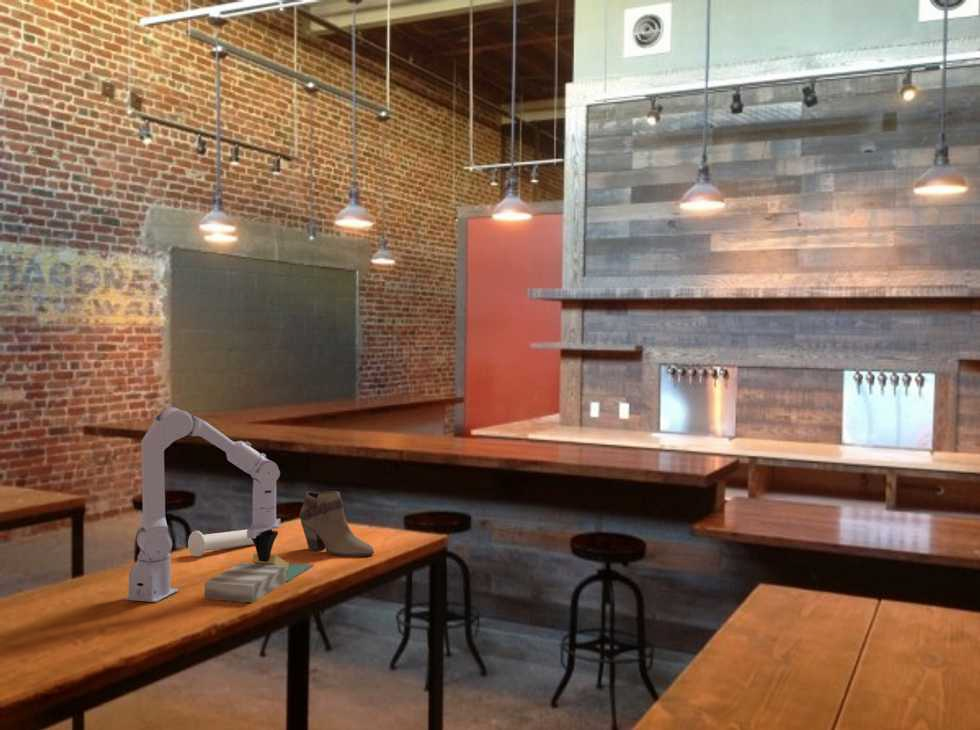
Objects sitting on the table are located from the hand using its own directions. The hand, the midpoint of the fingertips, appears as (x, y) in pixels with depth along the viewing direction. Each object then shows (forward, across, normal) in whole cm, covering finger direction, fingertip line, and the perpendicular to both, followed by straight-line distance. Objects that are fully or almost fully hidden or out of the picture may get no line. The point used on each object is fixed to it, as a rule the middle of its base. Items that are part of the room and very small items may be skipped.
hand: (263, 560), depth 217 cm
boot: (+5, +32, -6) cm, 33 cm away
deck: (+5, -9, 0) cm, 10 cm away
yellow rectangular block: (+3, +4, 0) cm, 5 cm away
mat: (+5, +8, 0) cm, 9 cm away
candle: (+1, +16, +28) cm, 33 cm away
